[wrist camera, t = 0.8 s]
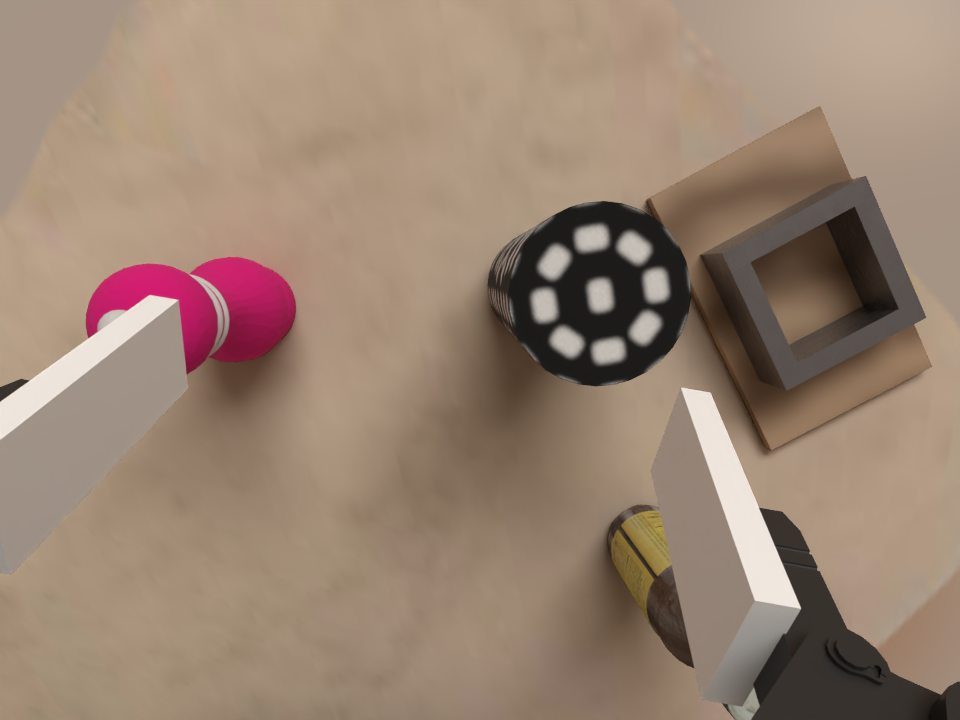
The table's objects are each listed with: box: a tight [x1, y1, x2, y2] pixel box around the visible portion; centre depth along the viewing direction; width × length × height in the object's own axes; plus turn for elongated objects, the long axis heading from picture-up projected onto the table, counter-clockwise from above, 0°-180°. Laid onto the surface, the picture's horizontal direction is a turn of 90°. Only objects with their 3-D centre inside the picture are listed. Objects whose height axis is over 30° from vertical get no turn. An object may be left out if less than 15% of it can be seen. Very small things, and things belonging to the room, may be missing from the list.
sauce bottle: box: [608, 505, 760, 720], centre depth 41 cm, size 6×6×20 cm
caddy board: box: [647, 107, 932, 450], centre depth 48 cm, size 22×14×1 cm, turn 28°
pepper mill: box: [86, 257, 296, 374], centre depth 38 cm, size 7×7×20 cm
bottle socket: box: [700, 176, 926, 391], centre depth 46 cm, size 11×11×4 cm
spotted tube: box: [488, 201, 691, 386], centre depth 38 cm, size 8×8×20 cm
